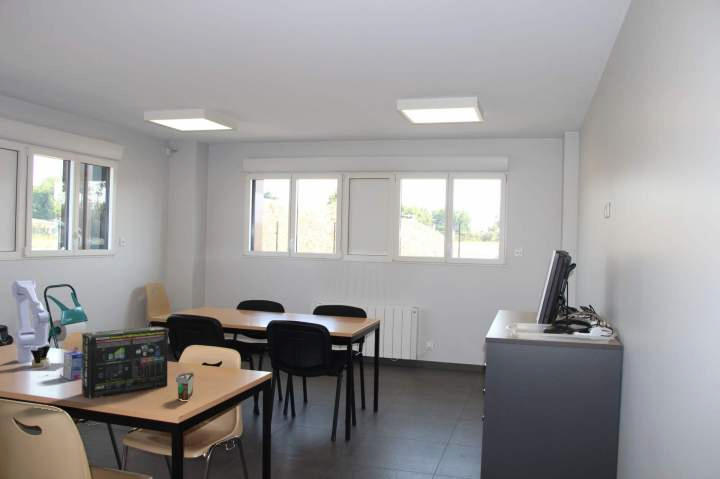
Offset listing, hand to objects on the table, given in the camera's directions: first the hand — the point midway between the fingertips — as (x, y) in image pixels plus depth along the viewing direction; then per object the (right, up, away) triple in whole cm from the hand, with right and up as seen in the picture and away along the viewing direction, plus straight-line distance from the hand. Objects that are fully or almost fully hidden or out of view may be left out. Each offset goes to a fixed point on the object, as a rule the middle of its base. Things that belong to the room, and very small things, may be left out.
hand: (40, 362), depth 296 cm
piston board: (+4, -3, -3) cm, 6 cm away
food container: (+89, -5, -50) cm, 102 cm away
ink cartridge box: (+26, -4, -19) cm, 33 cm away
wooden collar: (0, -2, 0) cm, 2 cm away
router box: (+60, -5, -39) cm, 71 cm away
